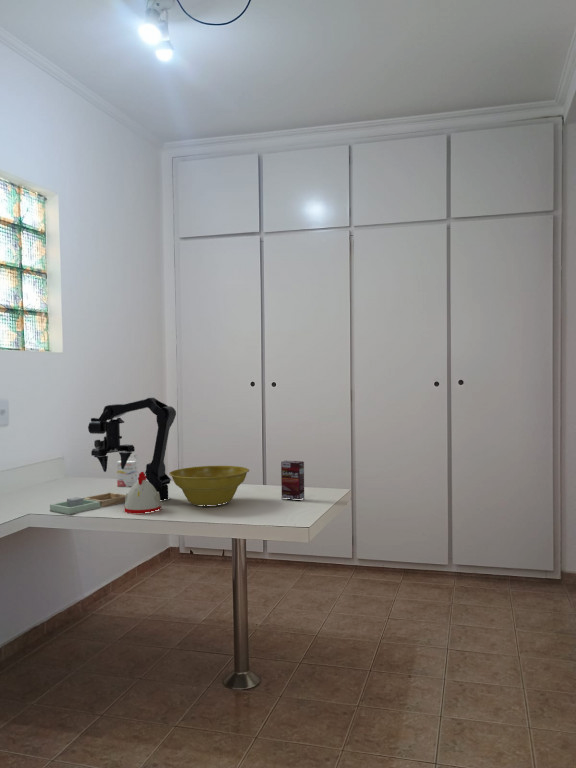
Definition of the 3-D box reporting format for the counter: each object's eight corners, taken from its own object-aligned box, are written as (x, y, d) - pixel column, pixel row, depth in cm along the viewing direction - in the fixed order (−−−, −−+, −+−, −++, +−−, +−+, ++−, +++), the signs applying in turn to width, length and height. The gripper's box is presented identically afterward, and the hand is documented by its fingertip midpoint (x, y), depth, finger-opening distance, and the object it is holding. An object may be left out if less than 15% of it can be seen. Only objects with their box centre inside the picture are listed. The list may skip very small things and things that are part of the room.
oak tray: (130, 501, 276) (130, 495, 276) (102, 507, 264) (102, 501, 264) (110, 498, 284) (110, 492, 283) (82, 504, 272) (82, 498, 272)
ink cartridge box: (116, 486, 312) (116, 455, 311) (120, 484, 317) (119, 454, 316) (134, 486, 311) (133, 455, 311) (138, 484, 316) (137, 454, 315)
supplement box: (281, 500, 273) (280, 461, 272) (286, 498, 277) (285, 460, 276) (299, 501, 269) (299, 462, 268) (305, 499, 273) (304, 461, 272)
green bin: (100, 508, 264) (100, 501, 264) (69, 514, 253) (69, 508, 253) (80, 504, 272) (80, 498, 272) (50, 510, 261) (49, 504, 260)
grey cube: (83, 508, 263) (83, 498, 262) (73, 510, 259) (73, 500, 259) (76, 506, 265) (76, 497, 265) (67, 509, 262) (66, 498, 262)
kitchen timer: (119, 514, 252) (118, 475, 252) (130, 506, 266) (129, 469, 265) (156, 514, 251) (155, 474, 251) (164, 506, 265) (163, 469, 265)
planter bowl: (164, 499, 278) (163, 467, 278) (238, 493, 289) (237, 462, 288) (177, 515, 248) (176, 479, 247) (259, 507, 258) (259, 473, 258)
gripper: (118, 431, 295) (119, 466, 295) (82, 435, 280) (83, 471, 281) (135, 432, 288) (135, 468, 289) (99, 436, 273) (100, 474, 274)
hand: (113, 470), depth 283 cm, fingers open, 9 cm apart
